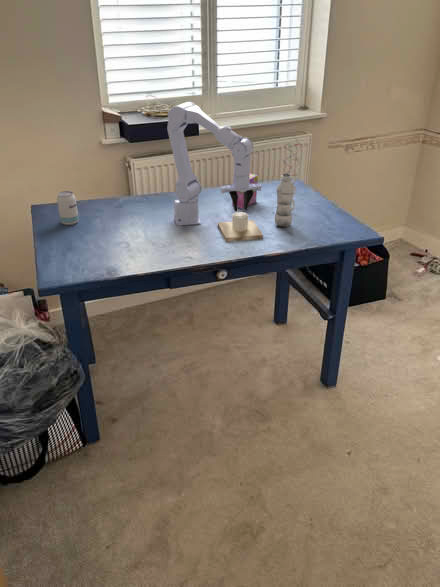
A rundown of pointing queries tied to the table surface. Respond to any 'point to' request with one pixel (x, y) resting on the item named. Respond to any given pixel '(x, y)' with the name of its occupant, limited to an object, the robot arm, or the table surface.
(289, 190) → the plastic bottle
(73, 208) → the beverage can
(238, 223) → the cap
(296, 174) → the dna model
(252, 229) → the stud base
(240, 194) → the box
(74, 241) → the table surface
